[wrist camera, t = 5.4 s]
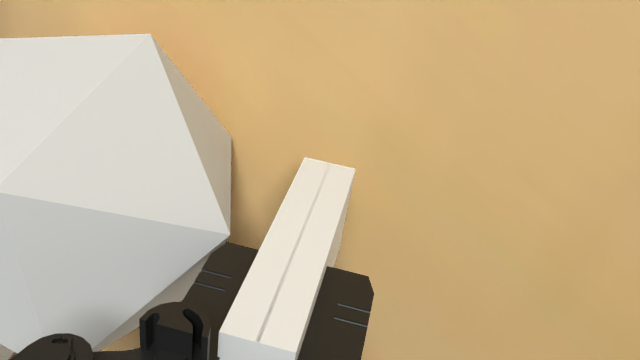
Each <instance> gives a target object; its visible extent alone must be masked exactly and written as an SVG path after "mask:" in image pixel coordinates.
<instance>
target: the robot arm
mask: <svg viewBox="0 0 640 360" xmlns="http://www.w3.org/2000/svg"><path fill="white" fill-rule="evenodd" d="M355 170H356V169H354V168H350V167H346V166H341V165H337V164H333V163H328V162H324V161H320V160H315V159H311V158H307V157H305V158H304V160H303V162H302V164H301V166H300V168H299V170H298V172H297V174H296V176H295V178H294V180H293V182H292V184H291V186H290V188H289V190H288V192H287V194H286V196H285V198H284V200H283V202H282V204H281V206H280V209H279V211H278V213H277V215H276V217H275V219H274V221H273V223H272V225H271V227H270V229H269V231H268V233H267V235H266V237H265V239H264V241H263V243H262V245H261V247H260V249H259V250H256V249H252V248H248V247H244V246H240V245H236V244H232V243H229V242H227V243H225V244H224V245H222V246H221V247H219V248H218V249H217V250H215V251H214V252H212V253H211V254H210V256H209V257H208V259H207V261H206V262H205V264H204V266H203V267H202V270H201V272H199V274H198V276H197V277H196V279H195V281H194V284H192V286H191V287H190V289H189V291H188V292H187V294H186V296H185V297H184V299H183V301H182V302H169V303H163V304H159V305H157V306H155V307H153V308H151V309H149V310H148V311H147V312H146V313H145V314H144V315H143V316H142V317H141V318H140V319H139V326H140V346H141V347H140V348H137V349H134V350H128V351H103V352H93V351H92V348H91V345H90V344H89V343H88V342H87V341H86V340H85V339H84V338H83V337H80V336H77V335H74V334H71V333H56V334H52V335H49V336H45V337H42V338H40V339H38V340H36V341H35V342H33V343H31V344H29V345H28V346H27V347H25V348H24V349H23V350H22V351H20V352H19V353H18V354H17V355H15V356H14V357H13V358H12V359H10V360H361V356H362V351H363V346H364V341H365V336H366V331H367V326H368V321H369V316H370V311H371V306H372V301H373V296H374V293H373V289H372V286H371V283H370V280H369V277H368V276H364V275H360V274H356V273H353V272H349V271H345V270H341V269H337V268H334V264H335V261H336V258H337V254H338V251H339V248H340V244H341V239H342V234H343V229H344V224H345V219H346V214H347V209H348V204H349V200H350V195H351V190H352V185H353V180H354V175H355Z"/></svg>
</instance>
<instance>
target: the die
mask: <svg viewBox="0 0 640 360" xmlns="http://www.w3.org/2000/svg"><path fill="white" fill-rule="evenodd" d="M230 221H231V136H230V134H229V133H228V132H227V131H226V129H225V128H224V127H223V126H222V124H221V123H220V122H219V120H218V119H217V118H216V117H215V115H214V114H213V113H212V112H211V110H210V109H209V108H208V107H207V105H206V104H205V103H204V101H203V100H202V99H201V98H200V96H199V95H198V94H197V93H196V91H195V90H194V89H193V87H192V86H191V85H190V84H189V82H188V81H187V80H186V79H185V77H184V76H183V75H182V74H181V72H180V71H179V70H178V68H177V67H176V66H175V65H174V63H173V62H172V61H171V60H170V58H169V57H168V56H167V55H166V53H165V52H164V51H163V49H162V48H161V47H160V46H159V44H158V43H157V42H156V41H155V39H154V38H153V37H152V35H151V34H128V35H97V36H65V37H34V38H2V39H0V344H1V345H3V346H5V347H7V348H8V349H10V350H12V351H14V352H15V353H17V354H18V353H19V352H20V351H22V350H23V349H24V348H25V347H27V346H28V345H29V344H31V343H33V342H35V341H36V340H38V339H40V338H42V337H45V336H49V335H52V334H56V333H71V334H74V335H77V336H80V337H83V338H84V339H85V340H86V341H87V342H88V343H89V344H90V345H91V348H92V351H93V352H99V351H101V350H102V349H104V348H106V347H107V346H109V345H110V344H112V343H114V342H115V341H117V340H118V339H120V338H122V337H123V336H125V335H126V334H128V333H130V332H131V331H133V330H135V329H136V328H138V327H139V319H140V318H141V317H142V316H143V315H144V314H145V313H146V312H147V311H148V310H149V309H151V308H153V307H155V306H157V305H159V304H163V303H169V302H180V301H181V300H183V299H184V297H185V296H186V294H187V292H188V291H189V289H190V287H191V286H192V284H194V281H195V279H196V277H197V276H198V274H199V272H201V270H202V267H203V266H204V264H205V262H206V261H207V259H208V257H209V256H210V254H211V253H212V252H214V251H215V250H217V249H218V248H219V247H221V246H222V245H224V243H225V242H226V240H227V239H228V237H229V236H230Z"/></svg>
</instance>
